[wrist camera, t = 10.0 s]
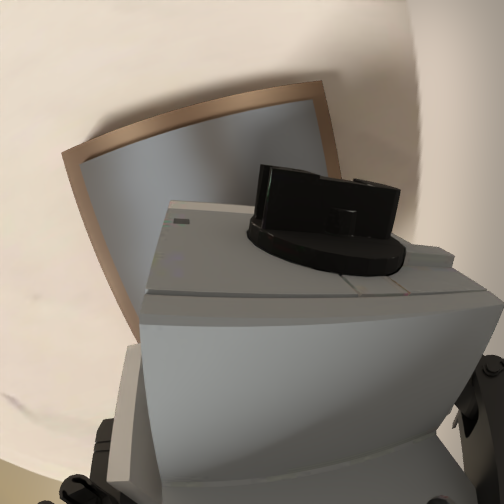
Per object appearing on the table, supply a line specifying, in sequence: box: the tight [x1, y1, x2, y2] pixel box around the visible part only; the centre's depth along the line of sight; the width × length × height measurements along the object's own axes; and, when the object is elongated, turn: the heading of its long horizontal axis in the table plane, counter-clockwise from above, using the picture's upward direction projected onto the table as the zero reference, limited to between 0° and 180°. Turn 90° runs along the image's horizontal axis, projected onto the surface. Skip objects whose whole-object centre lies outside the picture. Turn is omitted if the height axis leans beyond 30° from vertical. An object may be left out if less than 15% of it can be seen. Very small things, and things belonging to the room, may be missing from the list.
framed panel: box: [61, 80, 342, 343], centre depth 18 cm, size 14×20×3 cm
